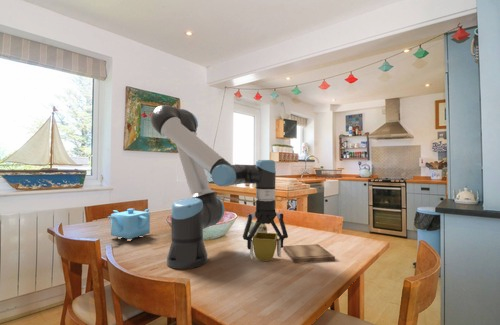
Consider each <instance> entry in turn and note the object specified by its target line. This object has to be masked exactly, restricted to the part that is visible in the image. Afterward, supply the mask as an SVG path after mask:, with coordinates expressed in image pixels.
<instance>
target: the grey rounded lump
mask: <svg viewBox="0 0 500 325" xmlns="http://www.w3.org/2000/svg"><path fill="white" fill-rule="evenodd" d="M256 221H257V220H256ZM256 221H252V222H251V226H250V229H249V232H248V234H250V232H251V230H252V229H253V227H254V225H255V223H256ZM256 232H261V233H268V227H267V225H266V224H261V225H260V226H259V228H258V229H257V231H256ZM255 234H256V233H255ZM255 234H254V236H255ZM254 236H253V237H254Z"/></svg>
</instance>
